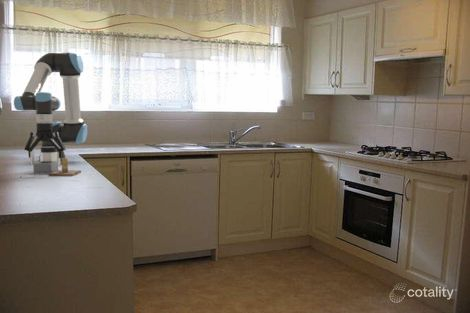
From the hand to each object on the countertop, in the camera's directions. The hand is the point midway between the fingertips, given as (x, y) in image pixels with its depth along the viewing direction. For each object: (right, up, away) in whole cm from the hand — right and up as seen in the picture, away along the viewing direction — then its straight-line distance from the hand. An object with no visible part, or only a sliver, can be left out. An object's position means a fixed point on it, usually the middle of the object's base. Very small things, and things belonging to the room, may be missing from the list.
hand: (45, 164), depth 255 cm
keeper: (+12, -5, -5) cm, 14 cm away
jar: (-2, -3, +10) cm, 10 cm away
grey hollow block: (0, -4, +1) cm, 4 cm away
